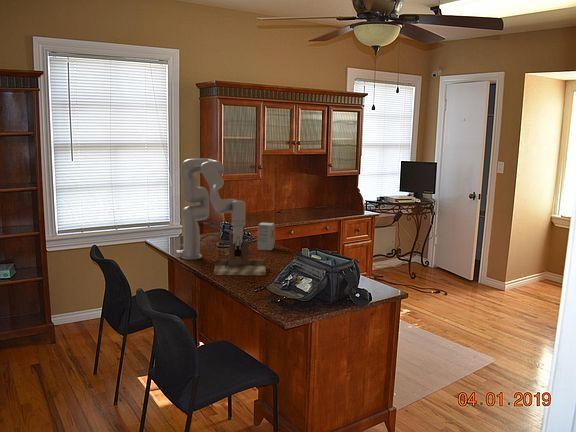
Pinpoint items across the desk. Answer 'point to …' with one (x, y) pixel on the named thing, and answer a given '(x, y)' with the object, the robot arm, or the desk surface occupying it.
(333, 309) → the desk surface
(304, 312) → the desk surface
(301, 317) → the desk surface
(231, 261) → the wooden block
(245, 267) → the marking board
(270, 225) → the supplement box
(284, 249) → the desk surface
